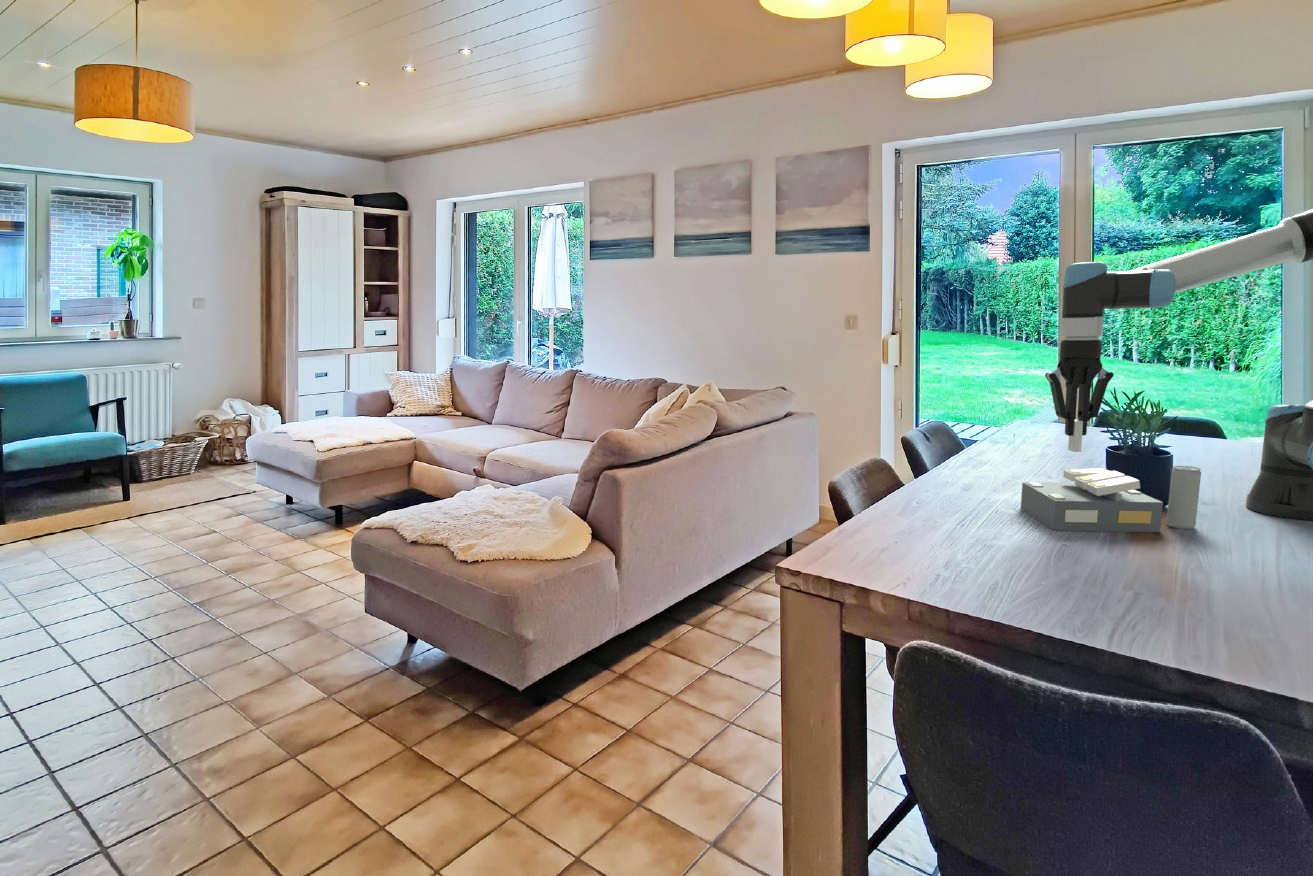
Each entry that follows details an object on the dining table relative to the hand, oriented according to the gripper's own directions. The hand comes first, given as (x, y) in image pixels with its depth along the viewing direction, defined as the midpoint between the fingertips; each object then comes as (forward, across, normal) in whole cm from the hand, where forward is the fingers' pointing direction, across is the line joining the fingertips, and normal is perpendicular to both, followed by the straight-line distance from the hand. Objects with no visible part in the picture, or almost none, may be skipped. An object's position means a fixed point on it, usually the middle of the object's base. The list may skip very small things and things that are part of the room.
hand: (1074, 450), depth 160 cm
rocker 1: (+5, -3, 0) cm, 6 cm away
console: (+14, -1, +5) cm, 15 cm away
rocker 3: (+5, -3, +11) cm, 12 cm away
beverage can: (+14, -17, +9) cm, 24 cm away
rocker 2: (+5, -3, +5) cm, 8 cm away
